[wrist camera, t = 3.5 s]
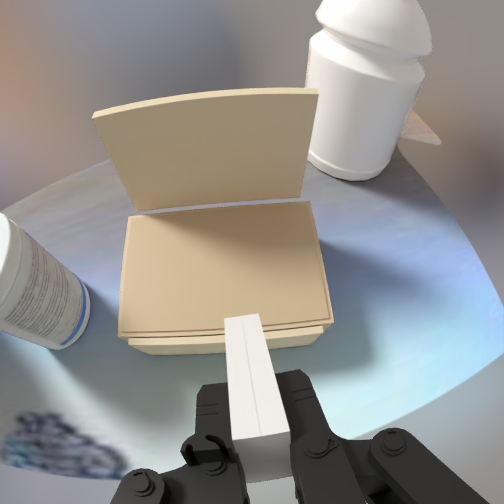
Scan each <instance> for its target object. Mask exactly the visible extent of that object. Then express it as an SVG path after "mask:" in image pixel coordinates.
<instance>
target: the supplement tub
mask: <svg viewBox="0 0 504 504" xmlns="http://www.w3.org/2000/svg"><path fill="white" fill-rule="evenodd" d="M89 315H90V298H89V294H88V291H87V288H86V287H85V285H84V283H83V282H82V281H81V279H80V278H79V277H77V276H76V275H75V274H74V273H72V272H71V271H70V270H69V269H68V268H66V267H65V266H64V265H63V264H62V263H60V262H59V261H58V260H57V259H56V258H54V257H53V256H52V255H51V254H50V253H49V252H47V251H46V250H45V249H44V248H43V247H42V246H41V245H39V244H38V243H37V242H36V241H35V240H34V239H33V238H32V237H31V236H29V235H28V234H27V233H26V232H25V231H24V230H23V229H22V228H21V227H20V226H18V225H17V224H16V223H14V222H13V221H12V220H10V219H9V218H7V217H6V216H5V215H4V214H2V213H0V330H1V331H3V332H6V333H8V334H11V335H13V336H16V337H18V338H21V339H24V340H26V341H29V342H32V343H34V344H37V345H40V346H43V347H46V348H49V349H54V350H59V349H64V348H66V347H68V346H70V345H72V344H73V343H74V342H75V341H76V340H77V339H78V338H79V337H80V336H81V335H82V333H83V332H84V330H85V328H86V326H87V323H88V320H89Z"/></svg>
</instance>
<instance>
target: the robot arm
mask: <svg viewBox="0 0 504 504" xmlns="http://www.w3.org/2000/svg"><path fill="white" fill-rule="evenodd" d="M224 325H225V344H226V361H227V377H228V382H225V383H217V384H208V385H203V386H202V388H201V389H200V391H199V393H198V394H197V403H196V407H197V408H196V425H195V434H194V435H192V436H191V437H189V438H188V439H187V440H186V441H185V442H184V443H183V444H182V447H181V450H180V452H181V454H182V456H183V457H184V459H185V461H186V463H187V464H185V465H184V466H182V467H180V468H178V469H175V470H172V471H168V472H165V473H161V474H158V473H157V472H155V471H153V470H151V469H143V468H140V469H136V470H133V471H131V472H129V473H128V474H126V475H125V477H124V478H123V479H122V481H121V483H120V485H119V487H118V489H117V491H116V493H115V495H114V497H113V499H112V501H111V503H110V504H250V499H249V496H248V493H247V487H246V483H253V482H261V481H268V480H274V479H280V478H285V477H290V476H293V477H294V481H295V495H296V499H298V503H299V504H366V502H367V503H368V504H489V503H488V502H487V501H486V500H485V499H484V498H482V497H481V496H480V495H479V494H478V493H477V492H475V491H474V490H473V489H472V488H471V487H470V486H469V485H467V484H466V483H465V482H464V481H463V480H462V479H461V478H459V477H458V476H457V475H456V474H455V473H454V472H453V471H451V470H450V469H449V468H448V467H447V466H446V465H445V464H444V463H442V462H441V461H440V460H439V459H438V458H437V457H436V456H435V455H434V454H433V453H431V452H430V451H429V450H428V449H427V448H426V447H425V446H424V445H423V444H422V443H420V442H419V441H418V440H417V439H416V438H415V437H414V436H413V435H412V434H411V433H409V432H407V431H406V430H404V429H400V428H388V429H385V430H382V431H380V432H379V433H378V434H376V435H375V436H374V437H373V439H370V440H347V439H344V438H341V437H339V436H337V435H336V434H334V433H333V432H332V431H331V429H330V427H329V425H328V423H327V420H326V418H325V415H324V413H323V411H322V408H321V406H320V403H319V401H318V398H317V397H316V393H315V391H314V389H313V386H312V384H311V381H310V379H309V377H308V376H307V375H306V374H305V373H303V372H302V371H301V370H300V369H299V370H294V371H288V372H283V373H278V374H274V370H273V366H272V363H271V359H270V355H269V351H268V348H267V344H266V340H265V336H264V333H263V329H262V325H261V321H260V318H259V314H258V313H257V314H251V315H245V316H238V317H231V318H224ZM365 501H366V502H365Z"/></svg>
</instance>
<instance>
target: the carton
mask: <svg viewBox="0 0 504 504" xmlns="http://www.w3.org/2000/svg"><path fill="white" fill-rule="evenodd" d="M257 313H258V314H259V318H260V321H261V325H262V329H263V333H264V336H265V340H266V344H267V348H268V349H277V348H286V347H295V346H303V345H311V344H312V343H313V342H314V341H315V340H316V339H317V338H318V337H319V336H320V335H322V334H323V333H324V332H325V331H326V330H327V329H328V328H329V327H330V326H331V325H332V324H333V323H334V318H333V312H332V306H331V301H330V295H329V290H328V284H327V279H326V274H325V269H324V264H323V259H322V254H321V249H320V244H319V240H318V235H317V230H316V226H315V221H314V217H313V213H312V208H311V204H310V201H306V202H287V203H271V204H256V205H242V206H229V207H217V208H205V209H194V210H184V211H174V212H164V213H155V214H146V215H137V216H129V219H128V225H127V232H126V240H125V248H124V256H123V265H122V275H121V286H120V299H119V314H118V337H119V338H121V339H123V340H125V341H127V342H128V345H129V346H131V347H134V348H136V349H138V350H140V351H142V352H145V353H147V354H149V355H186V354H212V353H226V344H225V325H224V318H231V317H238V316H245V315H251V314H257Z"/></svg>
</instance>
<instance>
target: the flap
mask: <svg viewBox="0 0 504 504" xmlns="http://www.w3.org/2000/svg"><path fill="white" fill-rule="evenodd" d="M318 97H319V93H318V91H317V89H316V88H253V89H236V90H221V91H210V92H202V93H192V94H185V95H178V96H171V97H164V98H159V99H153V100H147V101H141V102H136V103H131V104H127V105H122V106H117V107H113V108H109V109H105V110H101V111H97V112H95V113H94V115H93V117H92V120H93V122H94V125H95V127H96V129H97V131H98V133H99V135H100V138H101V140H102V142H103V144H104V146H105V148H106V150H107V152H108V154H109V157H110V159H111V161H112V163H113V165H114V167H115V169H116V171H117V173H118V175H119V177H120V179H121V181H122V183H123V185H124V187H125V188H126V190H127V192H128V194H129V196H130V198H131V200H132V202H133V204H134V205H135V207H136V209H137V211H146V210H154V209H163V208H173V207H182V206H193V205H203V204H215V203H227V202H239V201H253V200H268V199H285V198H300V193H301V188H302V183H303V178H304V173H305V168H306V163H307V158H308V152H309V147H310V142H311V136H312V131H313V126H314V120H315V114H316V109H317V103H318Z"/></svg>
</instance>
